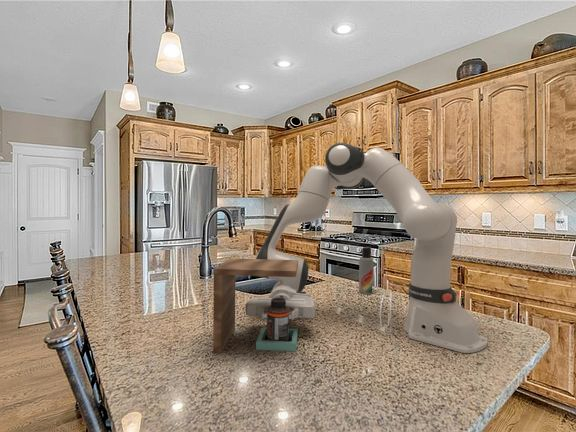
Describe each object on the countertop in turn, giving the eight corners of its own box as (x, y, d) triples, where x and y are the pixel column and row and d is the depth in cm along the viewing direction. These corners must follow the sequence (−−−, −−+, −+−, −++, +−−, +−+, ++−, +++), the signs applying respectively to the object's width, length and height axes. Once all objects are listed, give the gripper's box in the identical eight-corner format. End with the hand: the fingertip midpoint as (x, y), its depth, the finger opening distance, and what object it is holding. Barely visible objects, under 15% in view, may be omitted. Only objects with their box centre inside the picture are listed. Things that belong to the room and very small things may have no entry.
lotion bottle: (372, 294, 143) (373, 247, 142) (358, 294, 144) (359, 247, 143) (372, 291, 148) (373, 246, 147) (358, 290, 149) (359, 245, 148)
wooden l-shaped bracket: (297, 331, 100) (298, 260, 100) (294, 356, 84) (295, 271, 84) (228, 329, 102) (229, 258, 101) (213, 352, 86) (213, 268, 85)
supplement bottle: (264, 337, 95) (264, 297, 94) (284, 334, 97) (284, 295, 96) (270, 345, 89) (271, 303, 89) (291, 342, 91) (292, 301, 91)
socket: (297, 335, 98) (297, 328, 98) (295, 351, 87) (296, 343, 87) (261, 334, 98) (261, 327, 98) (256, 349, 88) (256, 342, 88)
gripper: (249, 290, 106) (240, 304, 92) (314, 292, 105) (315, 306, 91) (249, 310, 106) (240, 326, 92) (314, 312, 105) (314, 329, 91)
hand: (277, 316), depth 92 cm, fingers closed on supplement bottle, 6 cm apart
